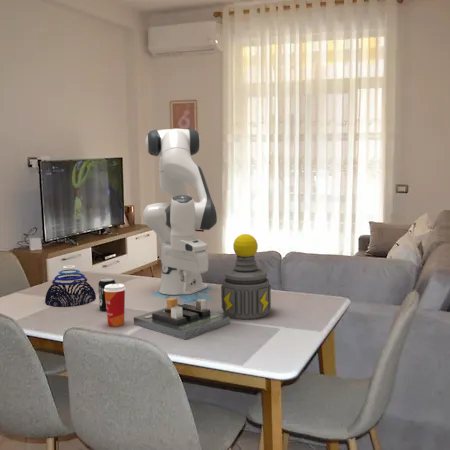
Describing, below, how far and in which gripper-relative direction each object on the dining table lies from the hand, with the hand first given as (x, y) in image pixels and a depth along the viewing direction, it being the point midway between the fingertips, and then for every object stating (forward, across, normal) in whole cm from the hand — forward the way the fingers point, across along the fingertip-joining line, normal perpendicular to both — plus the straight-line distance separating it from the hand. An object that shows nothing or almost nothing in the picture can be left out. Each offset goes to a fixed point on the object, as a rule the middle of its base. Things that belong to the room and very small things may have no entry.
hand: (184, 281), depth 196 cm
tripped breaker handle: (+11, -6, -1) cm, 12 cm away
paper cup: (+16, -19, -16) cm, 29 cm away
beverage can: (+16, -37, -6) cm, 41 cm away
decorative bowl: (+17, -61, -7) cm, 63 cm away
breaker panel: (+15, -1, -1) cm, 15 cm away
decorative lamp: (+16, +8, +24) cm, 30 cm away
